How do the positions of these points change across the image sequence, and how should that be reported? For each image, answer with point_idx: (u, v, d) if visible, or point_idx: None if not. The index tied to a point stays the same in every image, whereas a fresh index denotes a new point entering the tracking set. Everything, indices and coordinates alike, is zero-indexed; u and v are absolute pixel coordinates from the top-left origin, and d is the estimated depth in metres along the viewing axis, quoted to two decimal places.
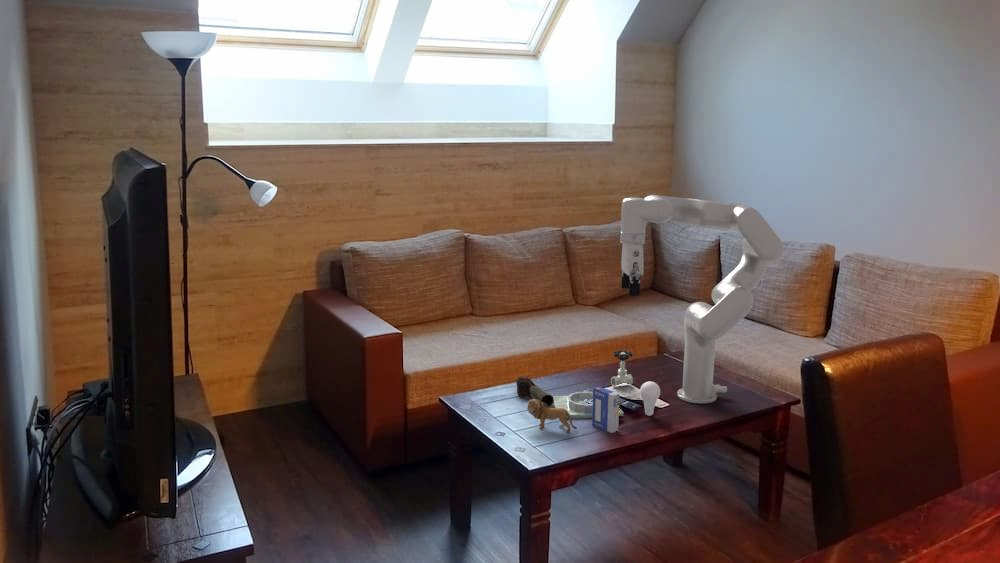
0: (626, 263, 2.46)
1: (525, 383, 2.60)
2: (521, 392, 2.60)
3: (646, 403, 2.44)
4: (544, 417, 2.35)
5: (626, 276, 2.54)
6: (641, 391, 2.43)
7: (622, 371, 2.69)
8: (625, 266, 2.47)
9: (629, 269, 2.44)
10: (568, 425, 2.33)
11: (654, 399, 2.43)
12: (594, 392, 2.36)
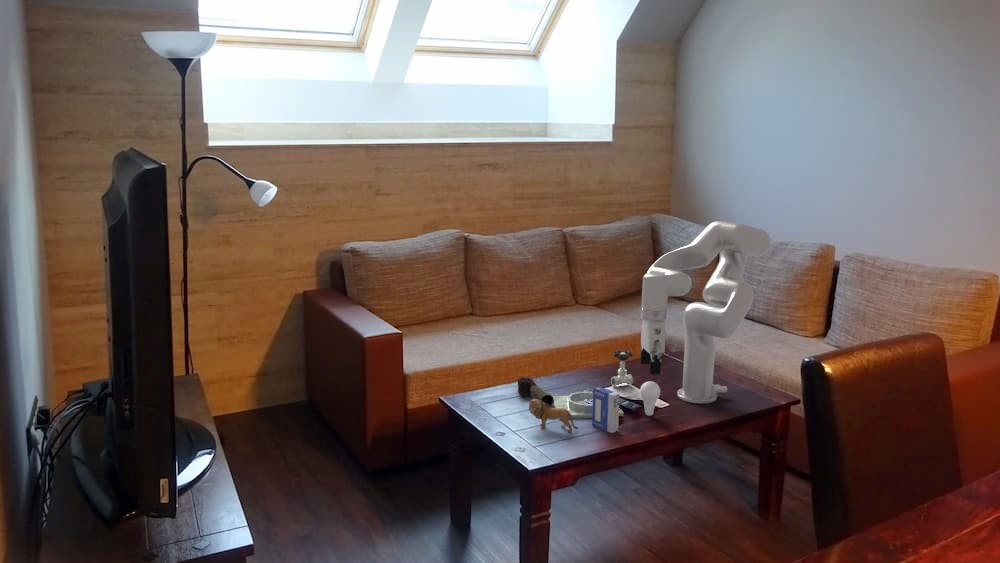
0: (647, 340, 2.37)
1: (526, 383, 2.60)
2: (522, 392, 2.60)
3: (646, 403, 2.44)
4: (545, 417, 2.35)
5: (645, 351, 2.46)
6: (641, 391, 2.43)
7: (622, 371, 2.69)
8: (646, 343, 2.39)
9: (650, 347, 2.36)
10: (569, 425, 2.33)
11: (654, 399, 2.43)
12: (594, 392, 2.36)
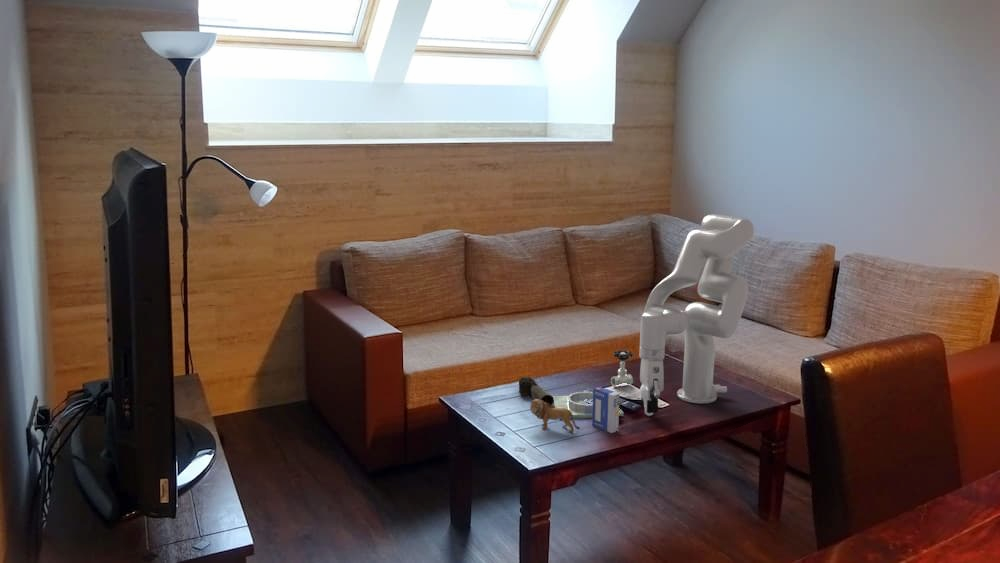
0: (646, 379, 2.40)
1: (527, 383, 2.61)
2: (522, 392, 2.60)
3: (646, 403, 2.44)
4: (547, 417, 2.35)
5: None
6: (641, 391, 2.44)
7: (622, 371, 2.69)
8: (644, 381, 2.42)
9: (649, 385, 2.39)
10: (571, 425, 2.33)
11: None
12: (594, 392, 2.36)
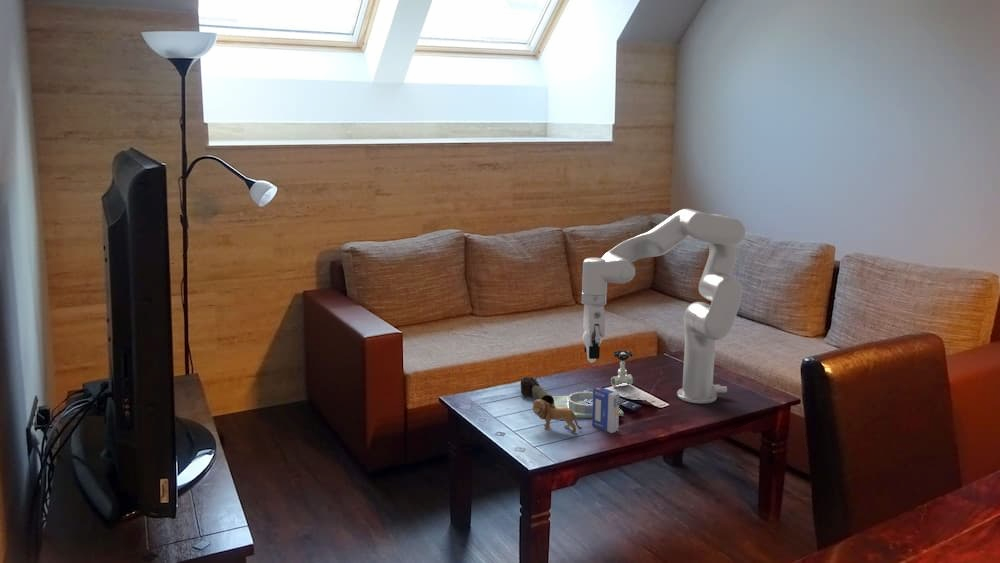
0: (587, 324, 2.42)
1: (528, 383, 2.61)
2: (524, 391, 2.60)
3: (588, 349, 2.46)
4: (549, 417, 2.35)
5: None
6: (583, 337, 2.46)
7: (622, 371, 2.69)
8: (586, 327, 2.44)
9: (590, 331, 2.41)
10: (573, 425, 2.33)
11: None
12: (594, 392, 2.36)
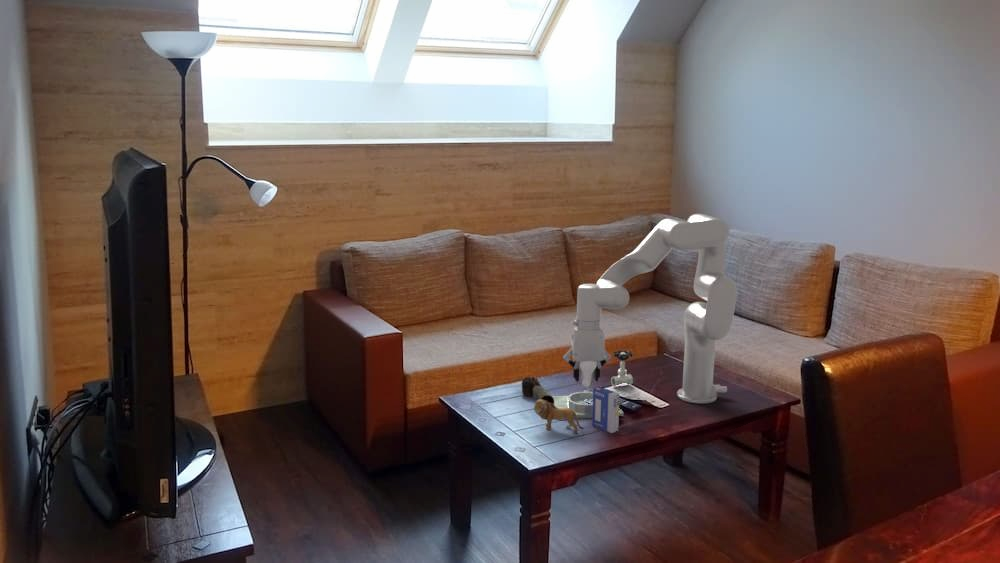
0: None
1: (529, 383, 2.61)
2: (525, 391, 2.60)
3: None
4: (551, 417, 2.35)
5: None
6: None
7: (622, 371, 2.69)
8: None
9: None
10: (575, 425, 2.33)
11: (579, 368, 2.48)
12: (594, 392, 2.36)
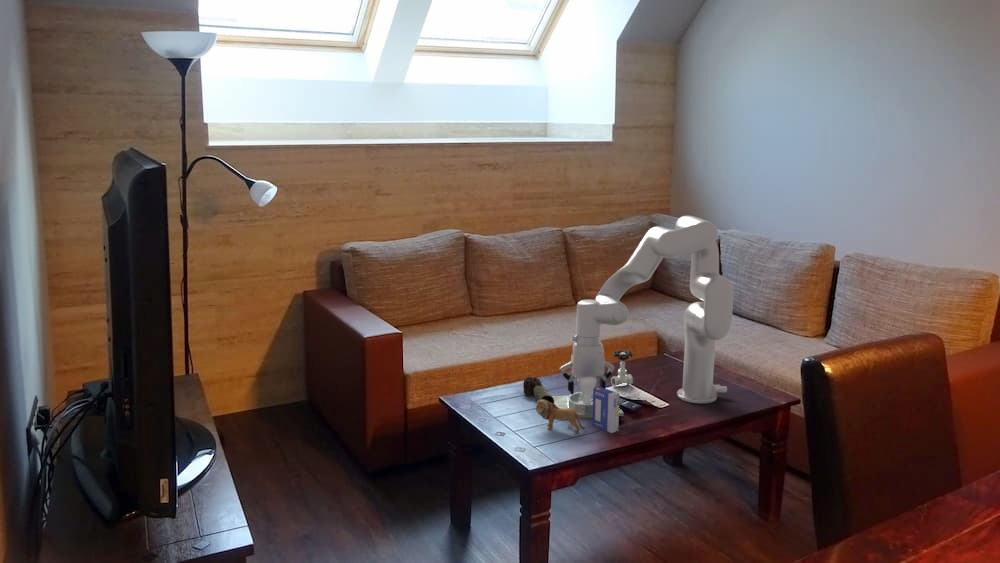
0: None
1: (531, 382, 2.61)
2: (526, 391, 2.60)
3: None
4: (552, 418, 2.35)
5: (601, 379, 2.51)
6: None
7: (622, 371, 2.69)
8: None
9: None
10: (577, 425, 2.33)
11: (579, 386, 2.50)
12: (594, 392, 2.36)
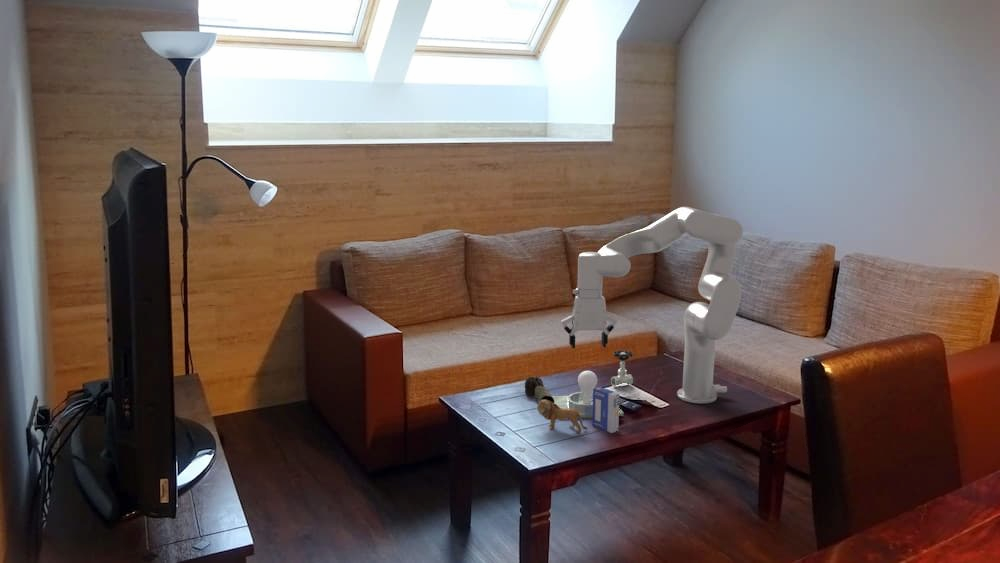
0: None
1: (532, 382, 2.61)
2: (527, 391, 2.61)
3: None
4: (554, 418, 2.35)
5: (603, 333, 2.48)
6: None
7: (622, 371, 2.69)
8: None
9: None
10: (579, 426, 2.33)
11: (580, 386, 2.50)
12: (594, 392, 2.36)
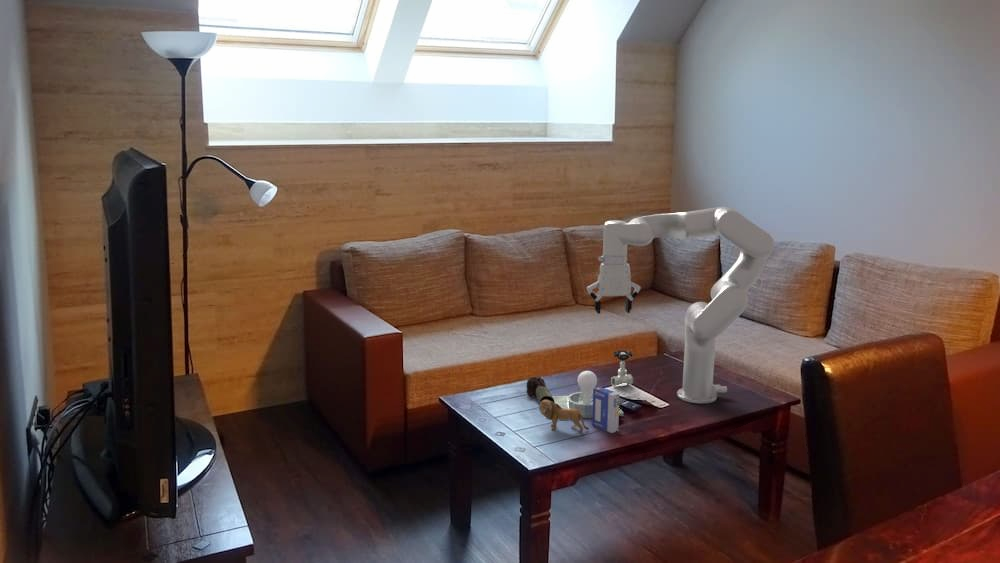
0: None
1: (533, 382, 2.61)
2: (528, 391, 2.61)
3: None
4: (556, 418, 2.34)
5: (627, 299, 2.56)
6: None
7: (622, 371, 2.69)
8: None
9: None
10: (580, 426, 2.33)
11: (580, 386, 2.50)
12: (594, 392, 2.36)
